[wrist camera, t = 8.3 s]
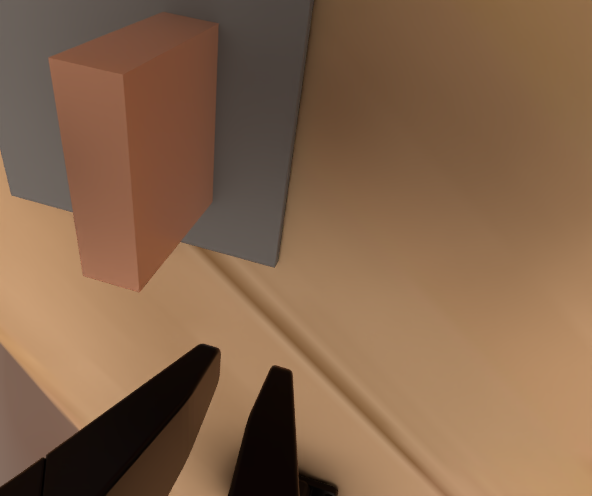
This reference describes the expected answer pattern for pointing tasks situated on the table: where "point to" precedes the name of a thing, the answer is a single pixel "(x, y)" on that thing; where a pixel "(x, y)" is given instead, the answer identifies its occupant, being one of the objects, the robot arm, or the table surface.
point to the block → (138, 141)
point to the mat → (228, 120)
